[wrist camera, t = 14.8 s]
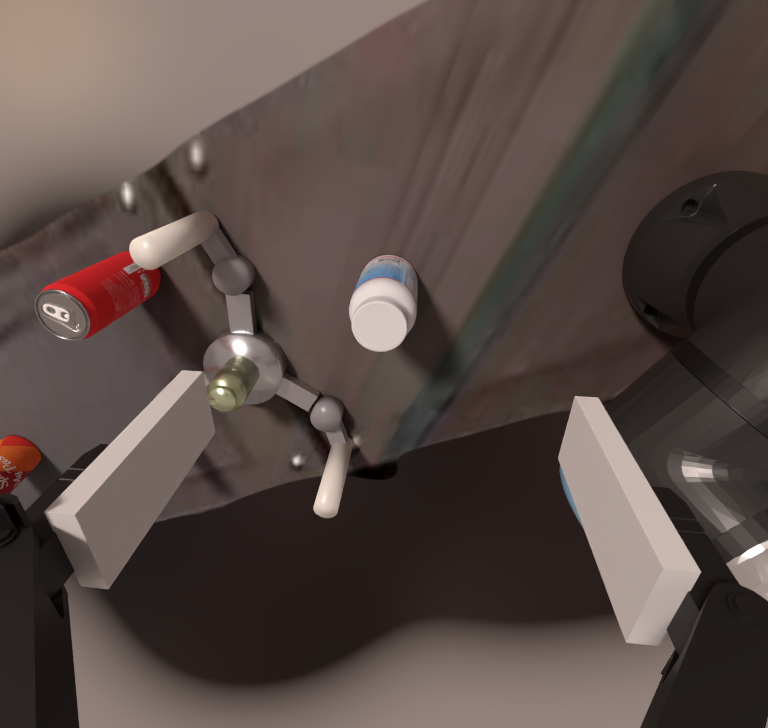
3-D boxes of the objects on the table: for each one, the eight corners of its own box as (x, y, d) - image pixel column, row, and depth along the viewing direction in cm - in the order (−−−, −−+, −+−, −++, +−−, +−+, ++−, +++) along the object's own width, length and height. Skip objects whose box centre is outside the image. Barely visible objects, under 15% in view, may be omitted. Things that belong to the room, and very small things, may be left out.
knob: (310, 398, 54) (285, 460, 45) (338, 393, 53) (318, 454, 44) (333, 452, 58) (314, 519, 48) (359, 448, 57) (345, 515, 48)
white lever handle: (262, 279, 47) (218, 321, 38) (235, 293, 48) (186, 337, 39) (212, 203, 44) (151, 228, 34) (185, 219, 45) (118, 248, 35)
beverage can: (161, 302, 50) (90, 351, 39) (115, 283, 49) (31, 329, 39) (168, 260, 47) (94, 302, 37) (120, 240, 47) (31, 276, 36)
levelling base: (317, 296, 48) (297, 327, 41) (320, 406, 55) (304, 450, 48) (166, 283, 49) (121, 313, 42) (188, 394, 56) (153, 435, 49)
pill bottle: (350, 291, 47) (329, 337, 38) (378, 242, 44) (364, 278, 35) (399, 319, 48) (391, 371, 39) (430, 273, 46) (430, 317, 36)
